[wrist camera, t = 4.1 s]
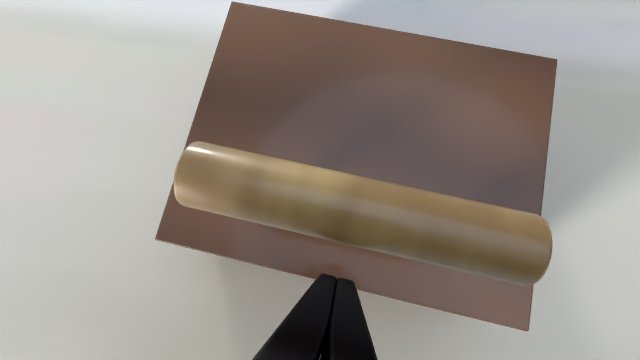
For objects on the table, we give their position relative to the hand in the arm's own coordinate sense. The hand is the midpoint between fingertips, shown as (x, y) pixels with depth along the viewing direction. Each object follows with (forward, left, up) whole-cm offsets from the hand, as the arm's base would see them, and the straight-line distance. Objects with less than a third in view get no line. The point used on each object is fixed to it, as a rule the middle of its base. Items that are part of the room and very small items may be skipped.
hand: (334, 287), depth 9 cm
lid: (+5, -1, -4) cm, 7 cm away
